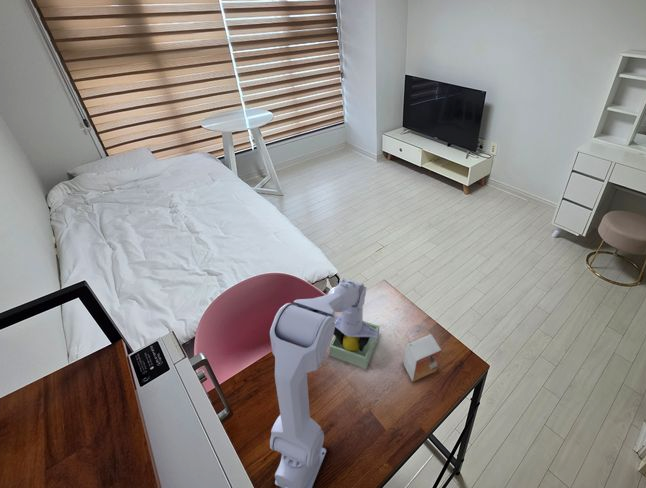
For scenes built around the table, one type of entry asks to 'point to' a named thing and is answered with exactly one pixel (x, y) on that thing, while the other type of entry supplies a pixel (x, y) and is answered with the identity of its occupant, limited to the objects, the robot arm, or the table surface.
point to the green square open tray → (354, 357)
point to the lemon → (351, 343)
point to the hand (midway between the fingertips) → (352, 344)
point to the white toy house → (422, 357)
